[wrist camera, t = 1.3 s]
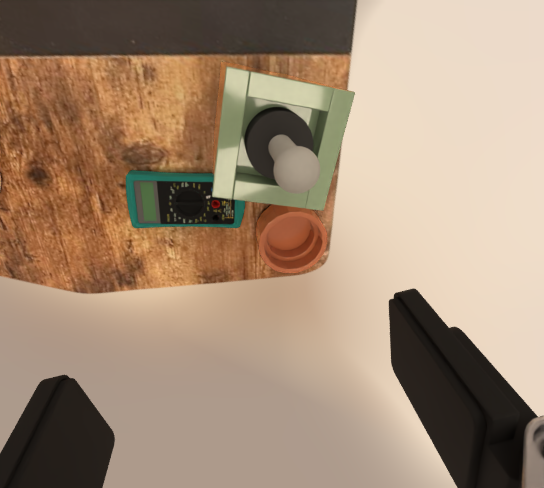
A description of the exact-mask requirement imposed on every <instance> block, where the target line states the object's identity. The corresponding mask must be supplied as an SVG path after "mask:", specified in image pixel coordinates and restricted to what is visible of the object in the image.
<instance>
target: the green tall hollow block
mask: <svg viewBox="0 0 544 488" xmlns="http://www.w3.org/2000/svg"><path fill="white" fill-rule="evenodd" d="M354 95H355V92H352V91H348V90H344V89H340V88H337V87H333V86H329V85H325V84H321V83H317V82H313V81H310V80H306V79H302V78H298V77H294V76H290V75H286V74H281V73H277V72H272V71H267V70H262V69H257V68H252V67H247V66H242V65H238V64H233V63H228V62H223V61H222V62H221V69H220V79H219V88H218V98H217V108H216V117H215V127H214V146H213V175H212V197H217V198H225V199H232V198H233V200H241V201H249V202H257V203H265V204H274V205H282V206H290V207H298V208H306V209H313V210H322V211H323V210H324V206H325V202H326V198H327V195H328V191H329V187H330V184H331V180H332V176H333V173H334V169H335V165H336V161H337V158H338V154H339V150H340V147H341V143H342V139H343V135H344V132H345V128H346V124H347V121H348V117H349V113H350V109H351V106H352V102H353V98H354ZM272 107H282V108H286V109H289V110H291V111H292V112H294V113H295V114H297V115H298V116H300V117H301V118H302V119H303V120H304V121H305V122H306V123H307V125H308V126H309V128H310V130H311V133H312V136H313V153H314V154H315V155H316V157H317V158H318V161H319V164H320V175H319V178H318V181H317V182H316V184H315V185H314V186H313V187H312V188H311V189H310V190H308V191H306V192H304V193H299V194H295V193H290V192H287V191H285V190H284V189H282V188H281V187H280V186H279V185H278V183H277V182H276V180H275V179H270V178H267V177H265V176H263V175H261V174H260V173H258V172H257V171H256V170H255V169H254V167H253V166H252V165H251V163H250V161H249V158H248V155H247V152H246V149H245V142H244V139H245V132H246V129H247V127H248V125H249V123H250V121H251V120H252V119H253V117H254V116H255V115H257V114H258V113H259V112H261V111H263V110H265V109H268V108H272Z"/></svg>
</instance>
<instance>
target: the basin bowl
mask: <svg viewBox="0 0 544 488" xmlns="http://www.w3.org/2000/svg"><path fill="white" fill-rule="evenodd" d="M255 233H256V237H257V242H258V247H259V251H260V256H261V257H262V259H263V260H264V262H265V263H266V264H267V265H268V266H269V267H271V268H272V269H274V270H276V271H279V272H283V273H297V272H300V271H303V270H306V269H308V268H310V267H311V266H313V265H314V264H315V263H317V262H318V261H319V259H320V258H321V256H322V255H323V254H324V252H325V249H326V245H327V232H326V229H325V228H324V226H323V224H322V222H321V221H320V219H319V217H318V216H317V214H316V213H315V211H314V210H313V209H306V208H298V207H290V206H282V205H274V204H272V205H271V206H269V207H268V208H267V209H266V210H265V211H263V213H262V214H261V216H260V218H259V219H258V221H257V225H256V231H255Z"/></svg>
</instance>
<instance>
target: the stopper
mask: <svg viewBox="0 0 544 488" xmlns="http://www.w3.org/2000/svg"><path fill="white" fill-rule="evenodd" d="M244 142H245V149H246V152H247V155H248V158H249V161H250V163H251V165H252V166H253V167H254V169H255V170H256V171H257V172H258V173H260V174H261V175H263V176H265V177H267V178H270V179H275V180H276V182H277V183H278V185H279V186H280V187H281V188H282V189H284V190H285V191H287V192H290V193H295V194H299V193H304V192H306V191H308V190H310V189H311V188H312V187H313V186H314V185H315V184H316V182H317V181H318V178H319V175H320V164H319V161H318V158H317V157H316V155H315V154H314V153H313V136H312V133H311V130H310V128H309V126H308V125H307V123H306V122H305V121H304V120H303V119H302V118H301V117H300V116H298V115H297V114H295V113H294V112H292V111H291V110H289V109H286V108H282V107H272V108H268V109H265V110H263V111H261V112H259V113H258V114H257V115H255V116H254V117H253V119H252V120H251V121H250V123H249V125H248V127H247V129H246V132H245V139H244Z"/></svg>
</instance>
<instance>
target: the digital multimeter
mask: <svg viewBox="0 0 544 488" xmlns="http://www.w3.org/2000/svg"><path fill="white" fill-rule="evenodd" d="M212 175H213V173H167V172H151V171H137V170H131V171H130V172H129V173H128V174H127V175H126V194H127V203H128V209H129V214H130V219H131V223H132V226H133V227H134V228H151V227H187V226H195V227H225V228H239V227H240V225H241V221H242V218H243V214H244V209H245V201H241V200H233V198H232V199H225V198H217V197H212Z"/></svg>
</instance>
